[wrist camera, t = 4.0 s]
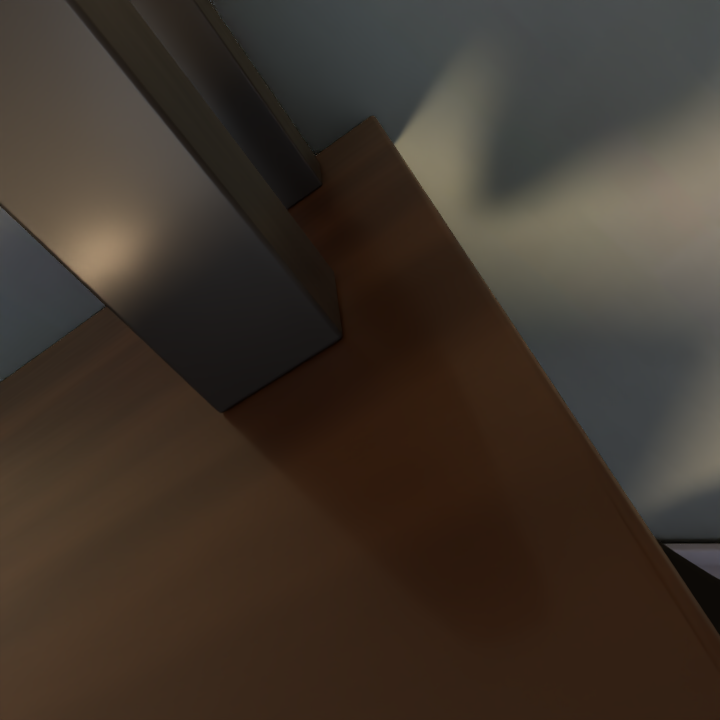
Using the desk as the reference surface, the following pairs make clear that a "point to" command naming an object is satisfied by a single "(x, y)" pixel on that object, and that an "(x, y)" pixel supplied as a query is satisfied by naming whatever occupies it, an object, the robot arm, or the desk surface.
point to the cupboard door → (289, 425)
